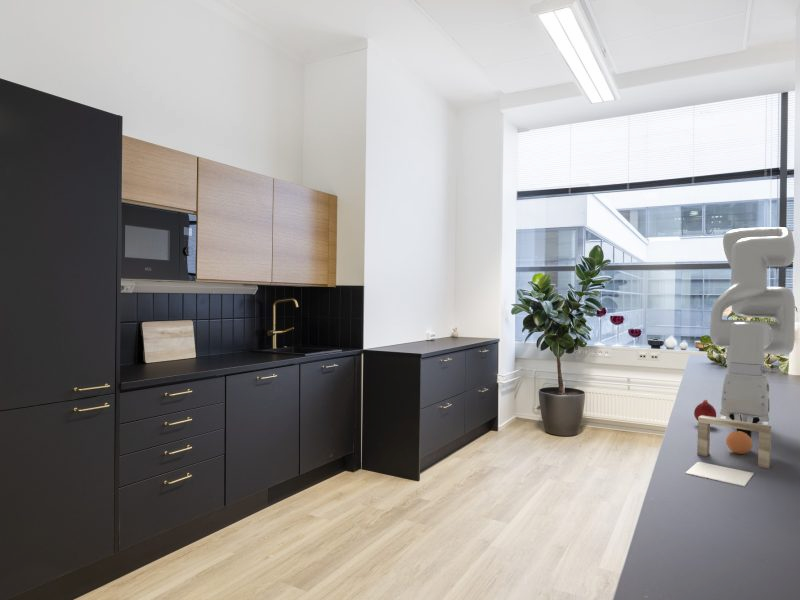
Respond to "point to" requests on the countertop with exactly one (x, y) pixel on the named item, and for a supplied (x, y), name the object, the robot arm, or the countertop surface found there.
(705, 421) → the bridge
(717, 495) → the countertop surface
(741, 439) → the ball
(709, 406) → the onion
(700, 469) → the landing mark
